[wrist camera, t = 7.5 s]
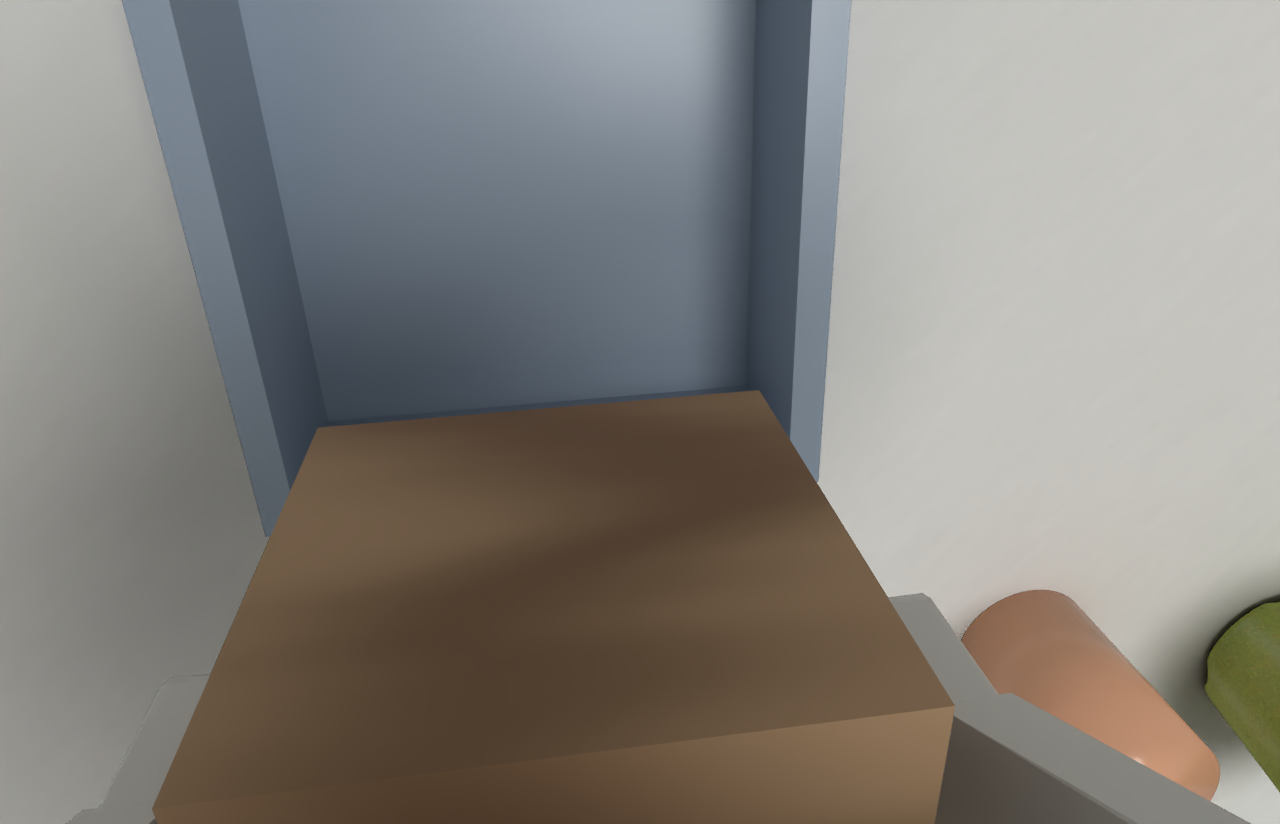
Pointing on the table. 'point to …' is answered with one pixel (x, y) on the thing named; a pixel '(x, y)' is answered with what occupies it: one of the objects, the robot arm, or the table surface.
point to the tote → (500, 204)
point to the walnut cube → (563, 635)
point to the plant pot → (1250, 684)
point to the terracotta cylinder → (1086, 684)
